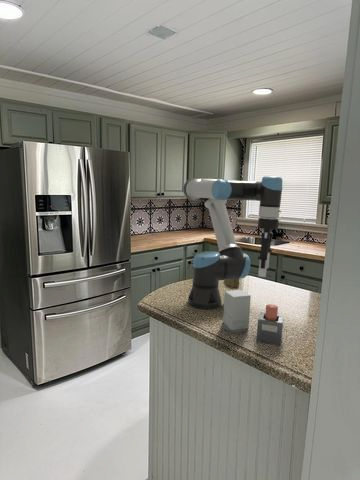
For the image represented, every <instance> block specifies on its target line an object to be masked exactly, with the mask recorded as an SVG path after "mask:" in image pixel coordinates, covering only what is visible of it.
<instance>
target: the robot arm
mask: <svg viewBox="0 0 360 480" xmlns="http://www.w3.org/2000/svg"><path fill="white" fill-rule="evenodd" d="M182 191H183V192H182V193H183V195H184V196H185V197H186V199H188V200H191V201H194V202H203V203H204V207H205V208H206V209H208V211H209V216H210V220H211V222H212V228H213V231H214V236H215V238H216V242H217V247H218V251H215V250H214V251H213V250H212V251H209V250H208V251H200V252H198V253H196V254H195V255H194V256H193V262H192V286H191V290H190V292H189V294H188V298H187V304H188V305H189V306H190V307H192V308H195V309H198V310H199V309H200V310H215V309H218V308H220V307H221V306H222V297H221V293H220V290H219V281H224V280H232V279H239V280H240V279H244V278H246V277H247V276H248V275H249V273H250V269H251V258H250V257H249V255H248V254H247V253H245V252H243V251H242V250H243V249H242V248H241V246H239V245H237V241H236V238H235V234H234V231H233V227H232V224H231V223H232V222H231V220H230V217H229V212H228V209H227V207H226V206H227V205H226V204H227V202H228V201H256V202H257V201H258V202H259V205H258V216H259V218H258V220H257V227H258V228H259V229H263V231H262V233H261V234H260V235H261V239H260V244H261V245H260V251H259V252H260V253H259V254H260V255H259V256H257V260H259V265H258V272H257V273H258V275H257V276H258V277H262V278H266V277H267V269H269V267H270V257H271V256H270V255H271V253H272V251H273V250H272V248H271V242H272V240H273V234H274V233H273V232H272V231H273V230H278V228H279V221H280V220H279V217H280V213H282V209H281V202H282V192H283V178H282V177H280V176H270V175H269V176H268V175H267V176H263V177H262V178H261V181H256V180H255V181H254V180H253V181H252V180H251V181H248V180H229V179H222V178H208V177H207V178H206V177H204V178H203V177H193V178H189V179H188V180H187V181H185V183H184V184H183V187H182Z"/></svg>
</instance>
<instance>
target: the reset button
mask: <svg viewBox="0 0 360 480" xmlns="http://www.w3.org/2000/svg"><path fill="white" fill-rule="evenodd" d="M278 312H279V307H278V305H275V304H272V303H271V304H270V303H269V304H266V305H265V312H264V313H265V319H267V320H273V321H277V315H279V314H278Z"/></svg>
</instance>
